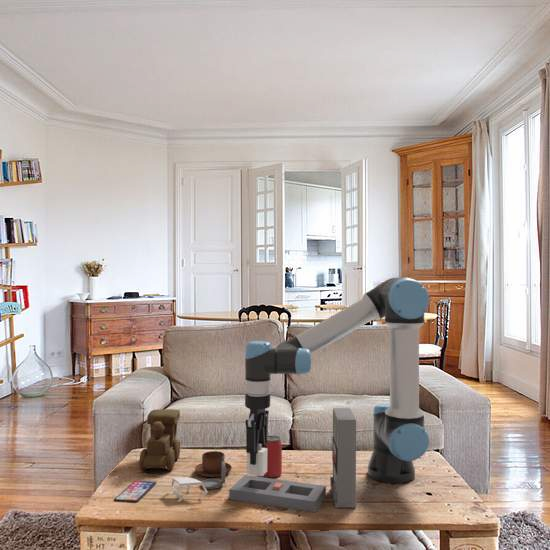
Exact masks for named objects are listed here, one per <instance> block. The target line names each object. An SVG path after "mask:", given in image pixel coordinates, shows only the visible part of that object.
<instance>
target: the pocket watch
mask: <svg viewBox="0 0 550 550" xmlns="http://www.w3.org/2000/svg"><path fill="white" fill-rule="evenodd" d="M223 453H224V454H223V456H222V462H221V476H220V477H221V478H220V479H221V480H220V479H218V478H208V479H204V480H202V481H201V482H202V483H203V484H204V486H205V488H206V490H207V489H208V490H212V489H218V488H220V487H222V486H223V485H224V484H225V483H226V474H225V463H226V461H225V458H224V455H226V454H225V452H223ZM200 486H201V487H202V488H203V486H202V485H200Z"/></svg>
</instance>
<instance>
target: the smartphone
mask: <svg viewBox="0 0 550 550" xmlns="http://www.w3.org/2000/svg"><path fill="white" fill-rule="evenodd" d="M156 485H157V482H156V481H153V480H151V481H149V480H134V481H132V482H131V483H130V484H129V485H128V486H127V487H126V488H124V489H123V490H122V491H121V492H120V493H119V494H118V495H117V496H116V497H115V498H114V499H113V501H114V502H119V503H120V502H121V503H124V502H125V503H131V504H132V503H133V504H137V503H139V502H140V501H141V500H142V499H143V498H144V497H145V495H147V494H148V493H149V492H150V491H151V490H152V489H153V487H155V486H156Z"/></svg>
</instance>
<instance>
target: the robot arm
mask: <svg viewBox="0 0 550 550" xmlns="http://www.w3.org/2000/svg"><path fill="white" fill-rule="evenodd" d="M429 305H430V295H429V292H428V289H427V288H426V287H425V286H424V284H422V283H421V282H420V281H418V280H416V279H414V278H411V277H393V278H392V277H391V278H389V279H387V280H384V281H383V282H381V283H380V284H378V285H376V286H375V287H373V288H372V289H370V290H369V291H367V292H365V293H364V294H363V295H362V298H361V299H359V300H357V301H356V302H354V303H352V304H351V305H349V306H347V307H345V308H343V309H342V310H340V311H338V312H337V313H335V314H333V315H331V316H330V317H328V318H327V317H326V318H325V319H324V320H322V321H320V322H319V323H317V324H315V325H313V326H312V327H310V328H308V329H306V330H305V331H303V332H301V333H299V334H297V335H296V336H295V337H293V338H290V339H289V340H286V341H281V342H280V343H278V345H277V346H276V347H275V348H273V347H272V345H271V342H269V341H264V340H263V341H262V340H255V341H249V342H248V343H246V346H245V358H244V362H245V365H244V366H245V367H244V368H245V371H244V372H245V374H244V375H245V376H244V377H245V379H244V380H245V381H244V383H243V384H244V386H245V389H244V390H245V391H244V392H245V395H244V406H245V408H247V409H249V415H248V419H245V428H246V430H245V432H246V435H245V436H246V437H245V441H246V443H245V444H246V449H245V450H246V451H245V452H246V454H247V453H250V458H249V474H248V475H249V476H256V477H259V476H258V475H259V453H258V443H261V444H262V448H264V447H268V444H265V443H267V437H268V436H269V435H268V433H269V431H268V430H269V429H268V428H269V425H268V424H269V415H270V414H269V413H270V412H269V410H267V409H269V408H270V406H271V395H270V394H271V375H288V374H289V375H302V374H303V375H304V374H306V375H307V374H309V373H310V372H311V369H312V355H313V354H314V353H315V354H316V352H318V351H320V350H322V349H323V348H325V347H327V346H329V345H331V344H332V343H334V342H336V341H338V340H339V339H341V338H343V337H344V336H347V335H348V334H350V333H352V332H353V331H355V330H357V329H359V328H360V327H362V326H365V325H366V324H367V323H369V322H371V321H373V320H377V321H379V320H381V319H383V318H384V323H385V325H387V327H388V328H389V403H380V404H376V405H375V406H374V408H373V413H372V416H373V433H372V434H373V446H372V447H373V448H372V449H373V450H372V454H371V456H370V458H369V462H368V464H367V474H368V476H369V477H370V478H372V479H374V480H376V481H380V482H384V483H391V484H402V483H408V482H410V481H413V480H414V479H415V478H416V470H415V466H414V462H413V461H416V460H419V459H420V458H421V457H423V455H425V453H426V452H427V451H428V449H429V446H430V438H429V437H430V436H429V434H428V431H427V430H426V429H425V413H424V411H423V410H422V409H421V408H420V328H421V327H422V326H423V325H424V324H425V313H426V311H427V310H428V308H429V307H430V306H429Z"/></svg>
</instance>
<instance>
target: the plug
mask: <svg viewBox="0 0 550 550" xmlns="http://www.w3.org/2000/svg"><path fill="white" fill-rule="evenodd" d="M258 453H259V475H258V476H257V477H264V474H265V473H266V472H267V448H262V444H261V443H258ZM249 458H250V453H247V452H246V475H250V474H249Z"/></svg>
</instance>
